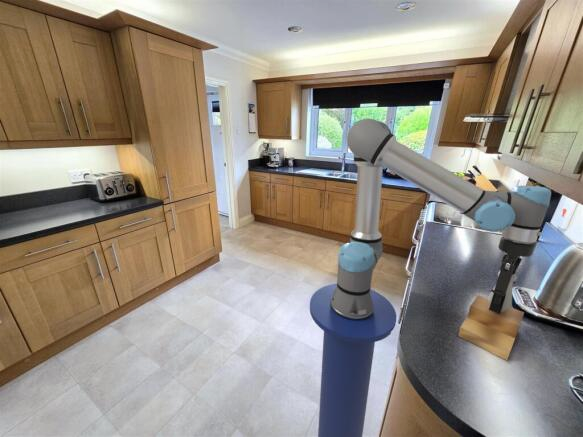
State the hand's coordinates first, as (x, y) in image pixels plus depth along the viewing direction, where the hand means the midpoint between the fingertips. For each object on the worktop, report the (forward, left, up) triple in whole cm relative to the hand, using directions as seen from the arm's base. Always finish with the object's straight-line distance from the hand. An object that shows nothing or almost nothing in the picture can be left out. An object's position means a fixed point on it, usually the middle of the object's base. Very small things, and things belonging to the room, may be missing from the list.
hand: (498, 305), depth 77 cm
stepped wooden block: (0, -4, -9) cm, 10 cm away
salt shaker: (0, 0, -1) cm, 1 cm away
